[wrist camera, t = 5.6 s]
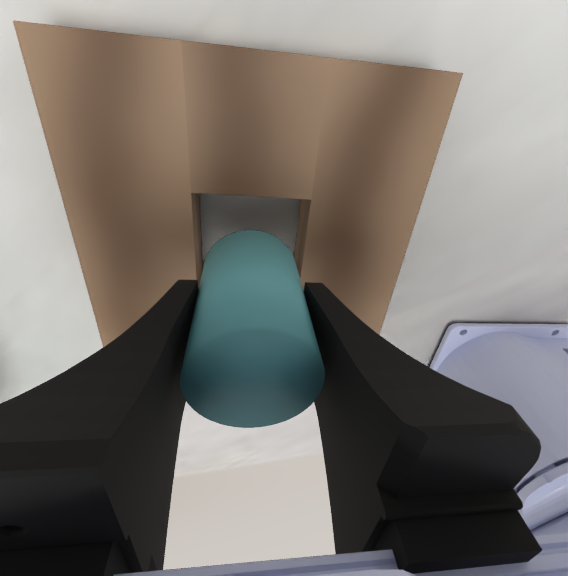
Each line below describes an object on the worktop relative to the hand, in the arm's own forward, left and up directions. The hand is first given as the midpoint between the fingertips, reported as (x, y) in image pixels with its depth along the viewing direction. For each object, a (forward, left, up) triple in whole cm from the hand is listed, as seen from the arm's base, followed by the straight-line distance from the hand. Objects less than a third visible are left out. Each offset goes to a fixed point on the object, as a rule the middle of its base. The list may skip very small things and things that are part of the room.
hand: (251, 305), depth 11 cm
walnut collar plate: (0, 0, -7) cm, 7 cm away
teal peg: (0, 0, -2) cm, 2 cm away
